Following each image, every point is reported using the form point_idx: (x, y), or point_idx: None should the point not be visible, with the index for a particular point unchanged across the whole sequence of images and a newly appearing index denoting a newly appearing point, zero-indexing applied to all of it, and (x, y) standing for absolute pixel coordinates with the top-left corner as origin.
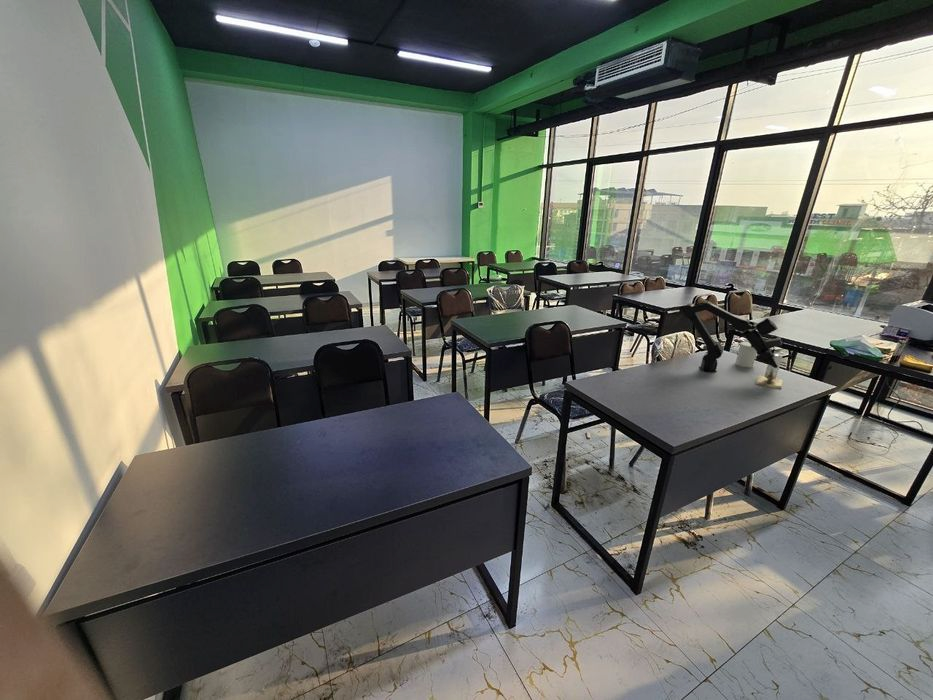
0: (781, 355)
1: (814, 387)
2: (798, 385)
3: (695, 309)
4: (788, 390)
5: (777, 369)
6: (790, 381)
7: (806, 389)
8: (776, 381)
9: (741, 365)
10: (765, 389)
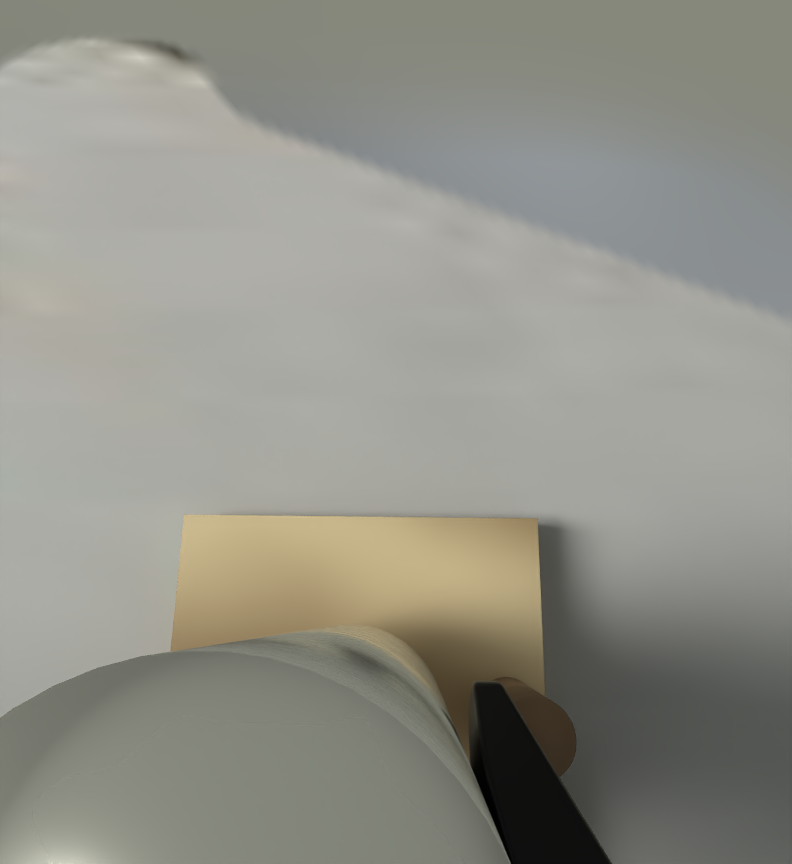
0: (57, 721)
1: (153, 165)
2: (193, 323)
3: None
4: (511, 430)
5: (404, 657)
6: (73, 417)
7: (300, 240)
8: (314, 600)
9: None
10: (728, 734)
